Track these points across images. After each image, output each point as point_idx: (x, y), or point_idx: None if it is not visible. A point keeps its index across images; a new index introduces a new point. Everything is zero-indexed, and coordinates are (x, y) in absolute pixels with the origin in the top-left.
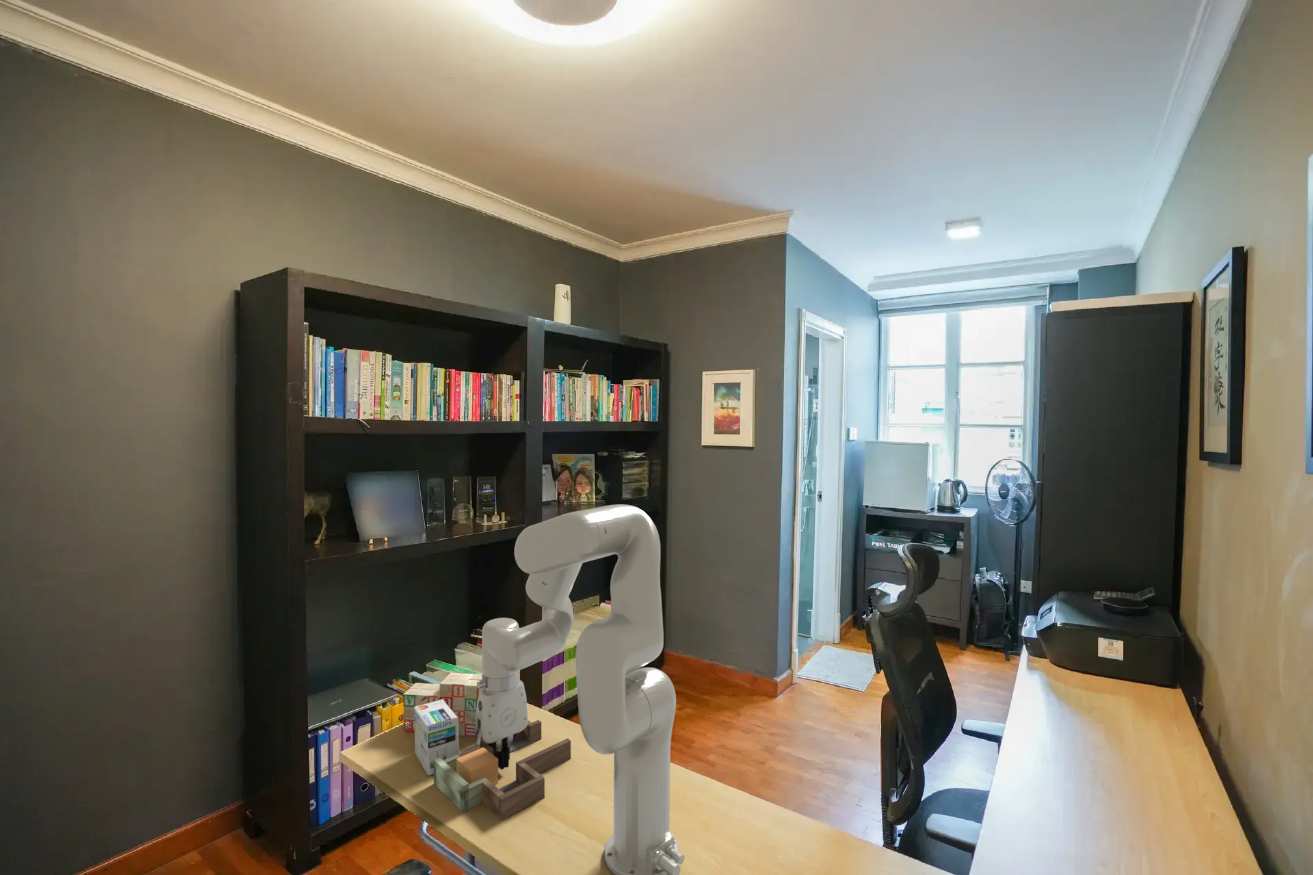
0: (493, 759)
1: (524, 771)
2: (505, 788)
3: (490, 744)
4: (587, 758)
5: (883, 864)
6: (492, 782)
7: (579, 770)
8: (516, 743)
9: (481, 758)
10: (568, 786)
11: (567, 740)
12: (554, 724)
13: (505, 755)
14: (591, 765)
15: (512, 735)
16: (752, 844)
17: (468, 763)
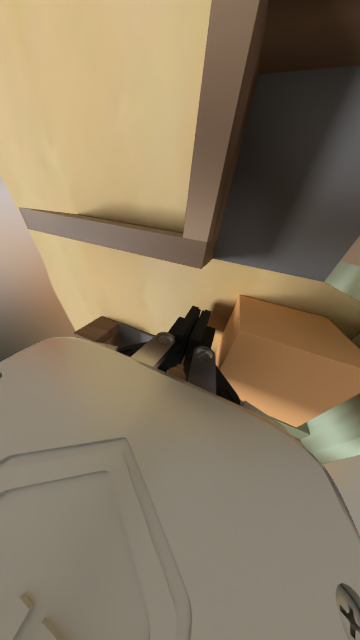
0: (251, 341)
1: (221, 186)
2: (261, 252)
3: (233, 398)
4: (43, 171)
5: None
6: (257, 302)
7: (69, 126)
8: (134, 340)
9: (264, 375)
10: (127, 29)
11: (28, 218)
12: (76, 321)
13: (192, 325)
14: (36, 117)
15: (137, 355)
16: None
17: (313, 397)
